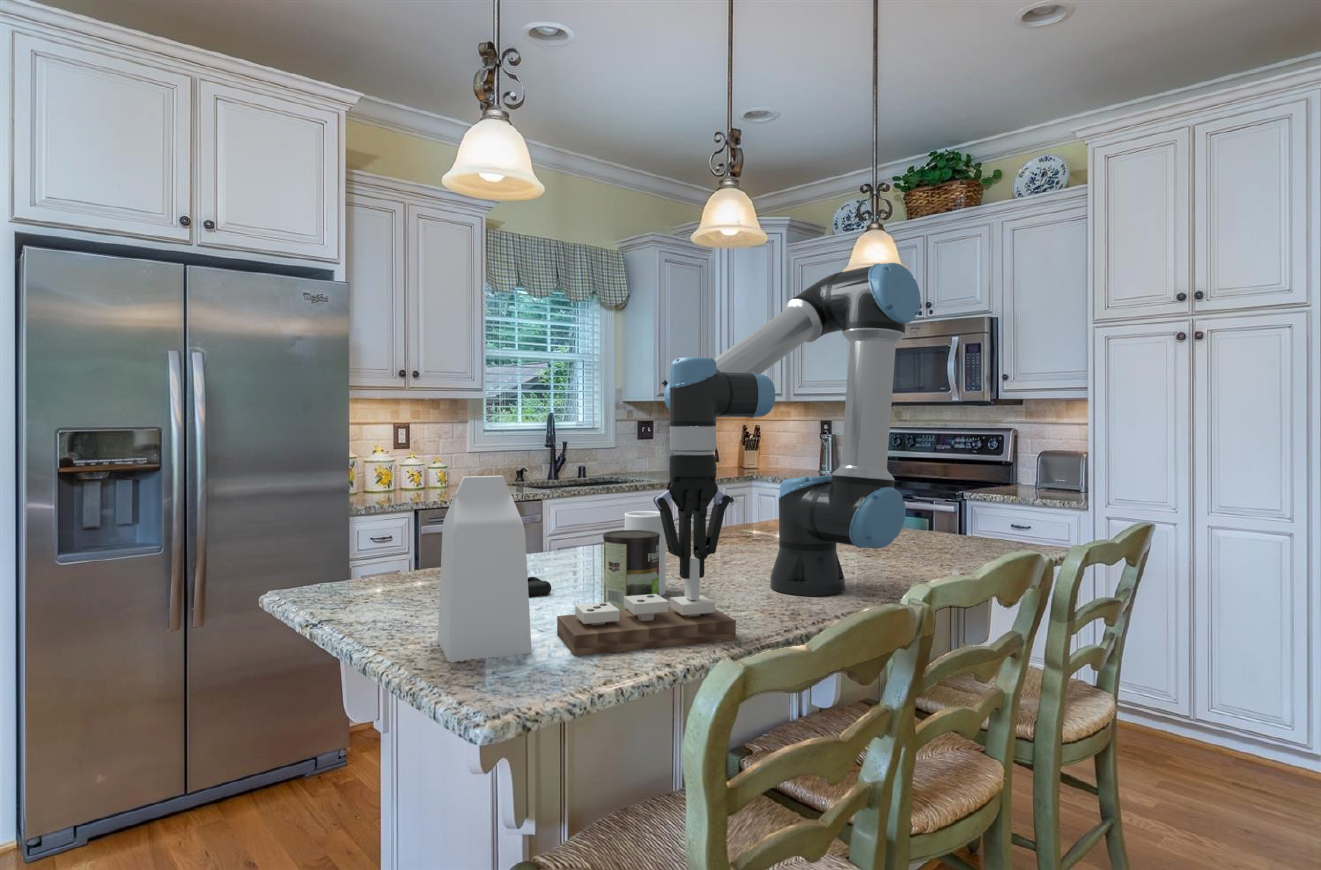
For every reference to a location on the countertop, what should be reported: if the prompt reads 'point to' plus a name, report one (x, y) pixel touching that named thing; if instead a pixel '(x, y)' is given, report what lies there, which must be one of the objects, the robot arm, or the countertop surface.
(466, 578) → the milk
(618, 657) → the countertop surface
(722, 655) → the countertop surface
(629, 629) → the button panel
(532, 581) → the door handle
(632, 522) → the cup
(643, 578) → the coffee can
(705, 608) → the button
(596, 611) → the button
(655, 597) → the button
